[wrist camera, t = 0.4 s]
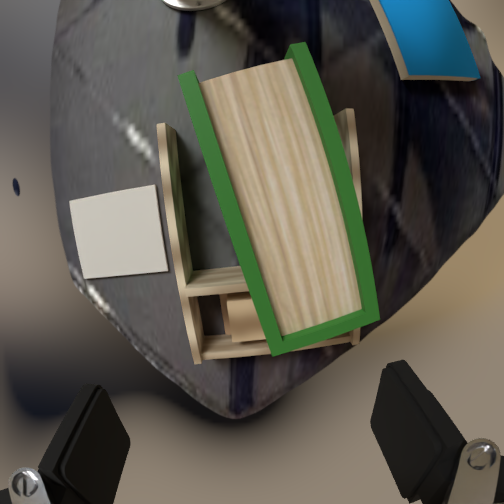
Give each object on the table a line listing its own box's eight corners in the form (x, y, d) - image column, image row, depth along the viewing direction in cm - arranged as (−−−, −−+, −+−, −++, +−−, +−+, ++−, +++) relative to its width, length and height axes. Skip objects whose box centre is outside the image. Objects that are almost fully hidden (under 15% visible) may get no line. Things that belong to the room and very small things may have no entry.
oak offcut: (227, 292, 40) (226, 301, 37) (316, 283, 40) (321, 291, 37) (232, 331, 42) (232, 342, 39) (316, 321, 42) (321, 332, 39)
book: (410, 76, 32) (352, -50, 26) (397, 82, 37) (344, -38, 30) (483, 78, 32) (430, -37, 25) (468, 82, 36) (420, -28, 29)
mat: (70, 200, 38) (69, 201, 38) (155, 184, 39) (154, 184, 38) (85, 277, 41) (84, 278, 41) (168, 269, 42) (167, 270, 41)
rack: (168, 131, 37) (154, 123, 30) (338, 116, 37) (356, 107, 30) (199, 341, 45) (193, 368, 38) (346, 324, 45) (361, 347, 38)
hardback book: (213, 132, 37) (177, 75, 14) (267, 116, 37) (305, 41, 14) (254, 256, 42) (272, 356, 18) (305, 240, 41) (380, 319, 18)
